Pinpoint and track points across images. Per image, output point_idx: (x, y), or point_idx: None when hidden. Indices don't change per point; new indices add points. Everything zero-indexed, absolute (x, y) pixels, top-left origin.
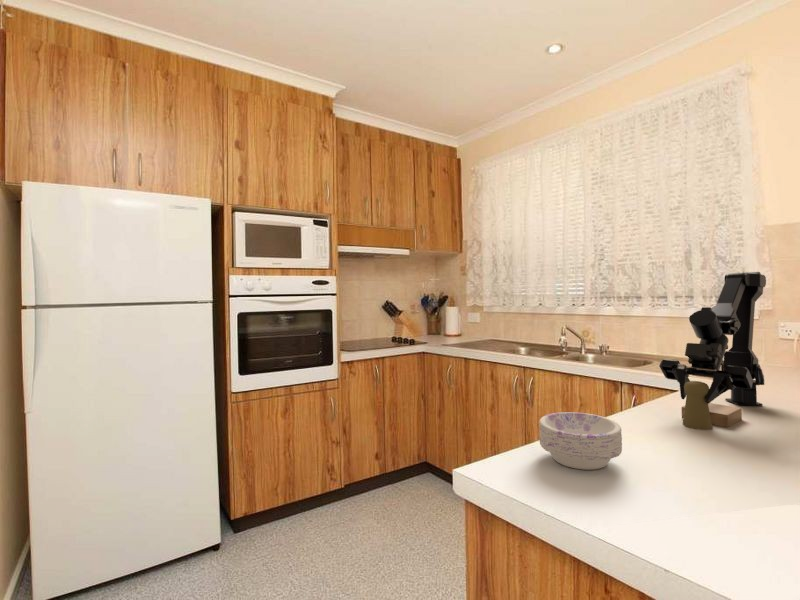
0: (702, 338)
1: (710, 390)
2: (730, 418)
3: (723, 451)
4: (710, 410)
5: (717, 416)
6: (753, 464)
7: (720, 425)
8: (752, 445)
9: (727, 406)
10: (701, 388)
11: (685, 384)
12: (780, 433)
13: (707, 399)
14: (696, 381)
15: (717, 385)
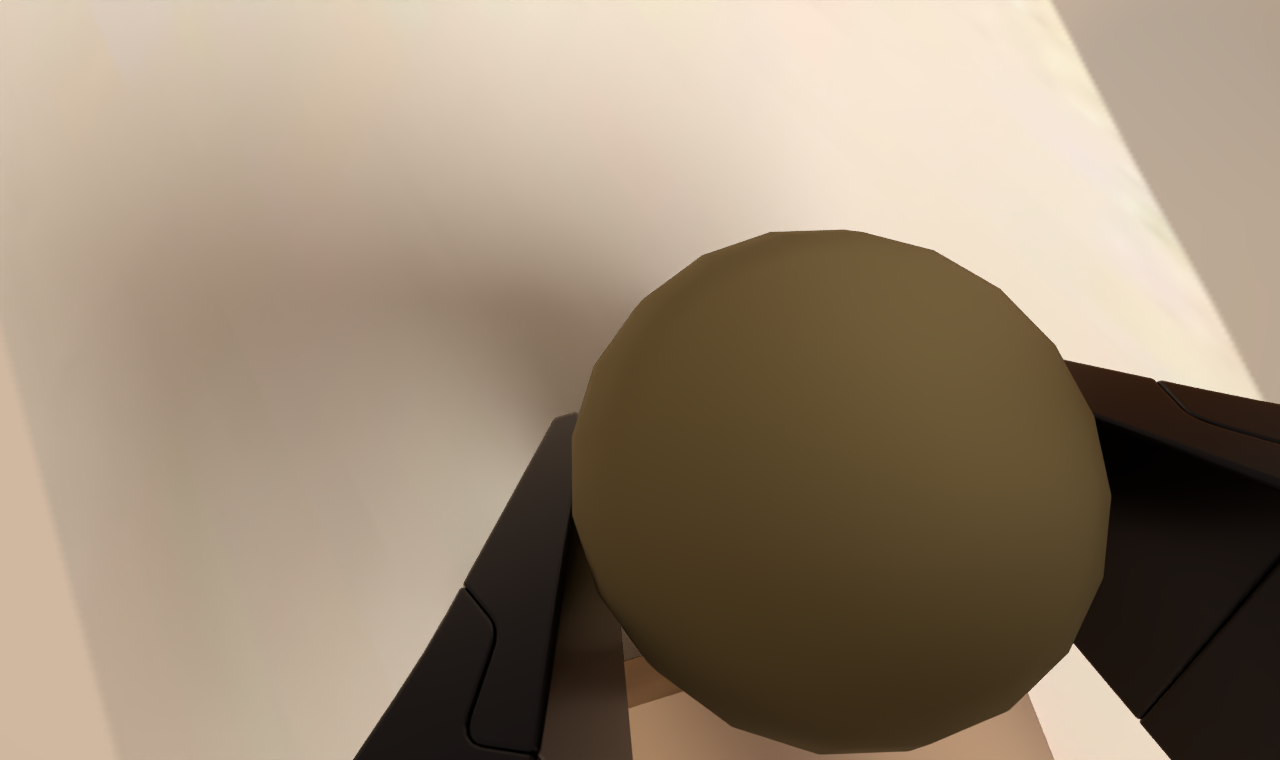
0: None
1: (541, 533)
2: None
3: (294, 126)
4: (759, 753)
5: (649, 687)
6: (113, 81)
7: (626, 661)
8: (252, 386)
9: None
10: (614, 344)
11: (965, 272)
12: None
13: (559, 426)
14: (910, 506)
15: (393, 714)
